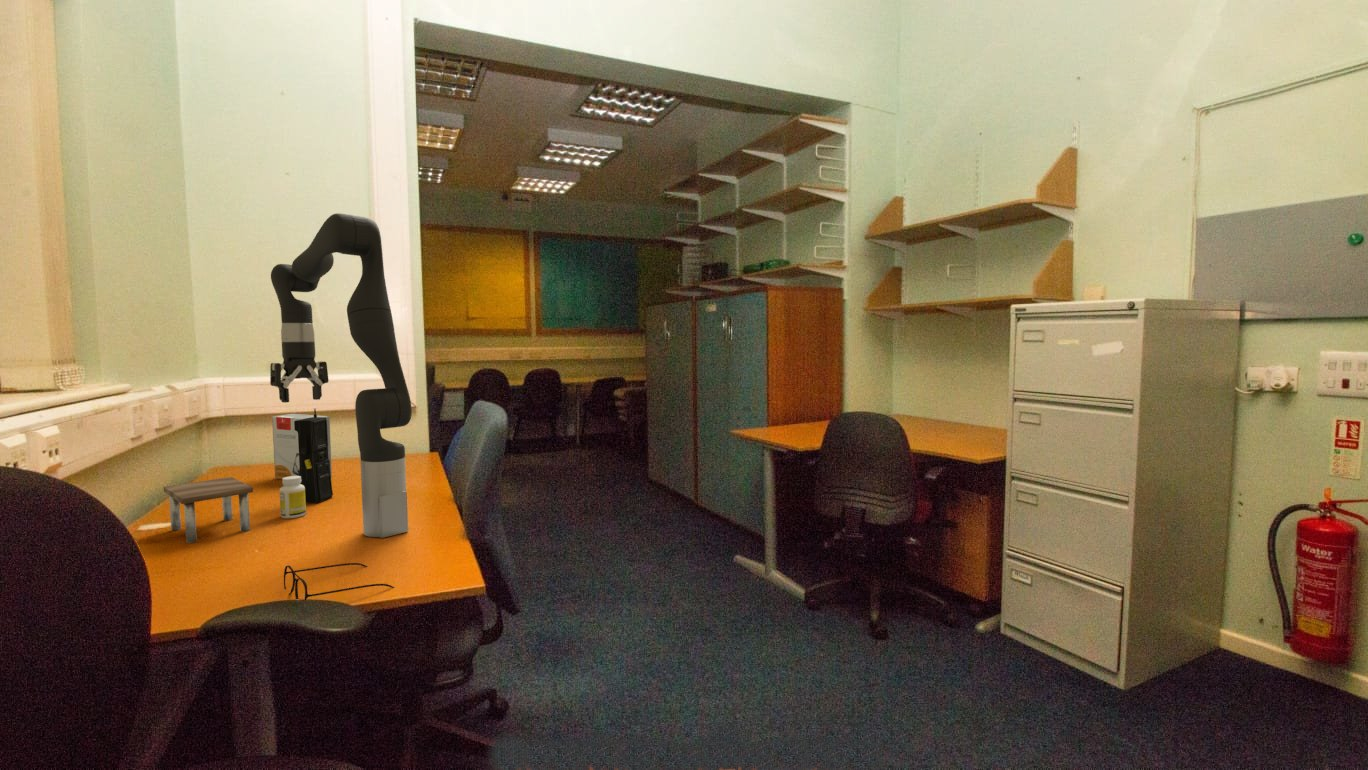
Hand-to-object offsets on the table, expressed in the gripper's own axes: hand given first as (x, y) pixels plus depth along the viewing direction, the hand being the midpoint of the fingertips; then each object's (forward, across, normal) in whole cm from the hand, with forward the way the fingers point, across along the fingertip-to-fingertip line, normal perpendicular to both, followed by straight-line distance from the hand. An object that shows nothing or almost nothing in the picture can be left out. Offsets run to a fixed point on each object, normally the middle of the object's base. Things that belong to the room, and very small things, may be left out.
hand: (301, 400), depth 165 cm
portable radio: (+28, +2, -1) cm, 28 cm away
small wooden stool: (+28, -25, -4) cm, 38 cm away
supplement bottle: (+28, -10, -9) cm, 31 cm away
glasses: (+30, -34, -60) cm, 75 cm away
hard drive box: (+27, +17, +27) cm, 42 cm away
